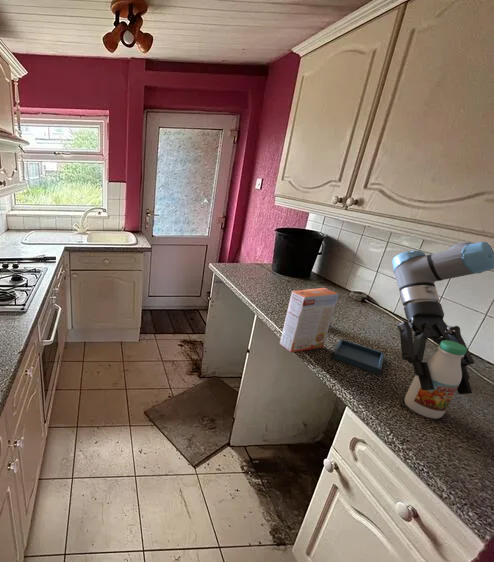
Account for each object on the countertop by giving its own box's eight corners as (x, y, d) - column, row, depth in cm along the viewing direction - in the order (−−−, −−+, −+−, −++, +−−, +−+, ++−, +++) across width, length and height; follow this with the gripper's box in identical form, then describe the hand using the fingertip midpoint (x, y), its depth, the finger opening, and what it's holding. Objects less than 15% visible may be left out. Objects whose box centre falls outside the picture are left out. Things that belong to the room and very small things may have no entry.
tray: (382, 357, 104) (384, 352, 104) (379, 374, 96) (381, 369, 95) (339, 343, 112) (340, 338, 111) (332, 358, 103) (334, 352, 103)
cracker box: (309, 339, 114) (325, 286, 106) (323, 348, 109) (341, 293, 101) (277, 343, 111) (291, 289, 103) (290, 353, 105) (306, 297, 98)
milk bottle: (396, 401, 85) (425, 339, 78) (413, 395, 88) (443, 334, 80) (431, 422, 78) (466, 356, 71) (448, 415, 81) (484, 350, 74)
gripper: (391, 296, 83) (413, 385, 74) (476, 303, 81) (509, 395, 72) (372, 306, 90) (390, 388, 81) (450, 312, 88) (477, 397, 79)
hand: (446, 391), depth 77 cm, fingers closed on milk bottle, 8 cm apart
